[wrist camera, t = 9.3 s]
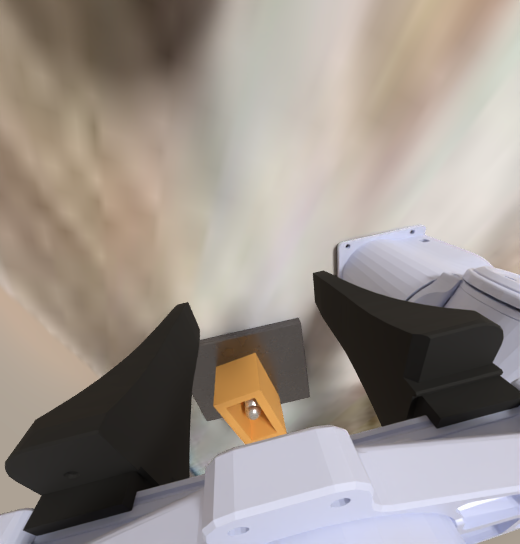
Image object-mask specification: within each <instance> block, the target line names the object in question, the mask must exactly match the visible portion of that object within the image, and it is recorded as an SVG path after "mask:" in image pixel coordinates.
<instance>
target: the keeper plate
mask: <svg viewBox="0 0 520 544" xmlns="http://www.w3.org/2000/svg"><path fill="white" fill-rule="evenodd" d="M253 353H256V355H257V357H258V358H259V360H260V362H261V364H262V366H263V368H264V369H265V371H266V373H267V375H268V377H269V379H270V380H271V382H272V384H273V386H274V388H275V390H276V391H277V393H278V395H279V399H280V403H281V404H282V403H287V402H291V401H295V400H299V399H304V398H308V397H310V395H309V386H308V378H307V370H306V362H305V354H304V346H303V337H302V329H301V323H300V320H299V318H296V319H291V320H287V321H283V322H278V323H274V324H269V325H265V326H261V327H256V328H252V329H247V330H243V331H239V332H234V333H230V334H226V335H221V336H217V337H212V338H208V339H204V340H200V342H199V351H198V357H197V363H196V369H195V375H194V381H193V388H192V394H193V396H194V398H195V400H196V402H197V403H198V405H199V407H200V409H201V411H202V413H203V414H204V416H205V418H206V420H207V421H211V420H215V419H219V418H223V417H222V416H221V415H220V413H219V412H218V411H217V410H216V409H215V407H214V406H213V403H214V390H215V376H216V367H217V366H220V365H223V364H226V363H228V362H231V361H234V360H237V359H239V358H242V357H245V356H248V355H250V354H253ZM245 413H246V416H247V417H248V418H249V419H250V420H256V419H258V418H259V416H260V414H261V407H260V405H259V404H258V402H257V401H256V399H255V398H253V399H250V400H247V401H245Z"/></svg>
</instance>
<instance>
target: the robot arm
mask: <svg viewBox="0 0 520 544" xmlns="http://www.w3.org/2000/svg"><path fill="white" fill-rule="evenodd" d="M411 230H412V232H411ZM425 230H426V227H425V226H424V225H417V226H412V227H407V228H403V229H398V230H394V231H389V232H385V233H380V234H376V235H371V236H367V237H362V238H358V239H353V240H348V241H344V242H341V243H339V244H338V246H337V264H338V277H336V276H334V275H332V274H330V273H328V272H325V271H320V272H315V273H313V281H314V295H315V303H316V305H317V307H318V309H319V311H320V313H321V315H322V317H323V319H324V320H325V322H326V323H327V325H328V326H329V328H330V329H331V331H332V332H333V334H334V335H335V337H336V338H337V340H338V341H339V343H340V344H341V346H342V347H343V349H344V350H345V352H346V354H347V356H348V358H349V359H350V361H351V363H352V365H353V367H354V369H355V371H356V373H357V375H358V377H359V379H360V381H361V383H362V385H363V387H364V389H365V391H366V393H367V395H368V397H369V399H370V402H371V404H372V406H373V408H374V410H375V412H376V414H377V417H378V419H379V421H380V423H381V426H382V427H379V428H376V429H372V430H368V431H364V432H360V433H357V434H353V435H349V434H348V432H347V430H345V429H343V428H340V427H337V426H333V425H324V426H315V427H310V428H307V429H303V430H299V431H295V432H291V433H288V434H284V435H280V436H276V437H272V438H269V439H265V440H261V441H257V442H253V443H249V444H246V445H242V446H238V447H234V448H232V449H229V450H227V451H224V452H222V453H220V454H218V455H217V456H216V457H215V458H214V459H213V460H212V461H211V462H210V463H209V464H208V465H207V466H206V469H205V474H202V475H199V476H195V477H191V478H189V448H190V415H191V398H192V388H193V381H194V375H195V369H196V363H197V357H198V351H199V342H200V329H199V326H198V324H197V322H196V319H195V317H194V315H193V312H192V310H191V308H190V305H189V303H188V302H187V303H183V304H178V305H177V306H176V307H175V308H174V309H173V310H172V311H171V312H170V313H169V314H168V315H167V317H166V318H165V319H164V320H163V321H162V322H161V323H160V324H159V326H158V327H157V328H156V329H155V330H154V331H153V332H152V333H151V334H150V335H149V336H148V337H147V338H146V339H145V340H144V341H143V342H142V343H141V344H140V345H139V346H138V347H137V348H136V349H135V350H134V351H133V352H132V353H131V354H130V355H129V356H127V357H126V358H125V359H124V360H123V361H122V362H120V363H119V364H118V365H117V366H115V367H114V368H113V369H111V370H110V371H109V372H108V373H106V374H105V375H104V376H103V377H101V378H100V379H99V380H97V381H96V382H94V383H93V384H91V385H90V386H89V387H87V388H86V389H84V390H83V391H81V392H80V393H78V394H77V395H75V396H74V397H72V398H71V399H69V400H68V401H66V402H64V403H63V404H61V405H59V406H58V407H56V408H55V409H53V410H51V411H50V412H48V413H46V414H45V415H43V416H41V417H40V418H38V419H37V420H35V421H34V423H33V424H32V426H31V427H30V428H29V430H28V431H27V433H26V434H25V435H24V437H23V438H22V439H21V441H20V442H19V444H18V445H17V446H16V448H15V449H14V451H13V452H12V453H11V455H10V456H9V457H8V459H7V460H6V462H5V470H6V472H7V474H8V475H9V477H11V478H12V479H13V480H15V481H16V482H18V483H20V484H22V485H23V486H25V487H27V488H29V489H31V490H33V491H34V492H36V493H38V494H40V495H42V496H41V498H40V500H39V501H38V504H37V505H36V507H35V509H33V508H24V509H18V510H15V511H11V512H7V513H3V514H0V544H477V543H480V542H482V541H485V540H488V539H491V538H493V537H497V536H499V535H502V534H505V533H508V532H510V531H514V530H516V529H519V528H520V275H519V274H515V273H512V272H509V271H506V270H502V269H498V268H494V267H493V266H492V265H491V264H490V263H489V262H488V261H487V260H485V259H484V258H483V257H481V256H479V255H477V254H475V253H473V252H470V251H467V250H465V249H462V248H459V247H457V246H454V245H451V244H449V243H446V242H443V241H441V240H438V239H435V238H433V237H430V236H427V235H425ZM410 232H411V233H410ZM347 244H349V245H348V247H346V245H347Z"/></svg>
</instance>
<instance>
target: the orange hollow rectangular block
mask: <svg viewBox="0 0 520 544" xmlns="http://www.w3.org/2000/svg"><path fill="white" fill-rule="evenodd" d="M253 398H255V399H256V401H257V402H258V404H259V405H260V407H261V414H260V416H259V418H258V419H256V420H250V419H249V418H248V417H247V416H246V413H245V401H247V400H250V399H253ZM213 406H214V407H215V409H216V410H217V411H218V412H219V413H220V415H221V416H222V417H223V418H224V419H225V421H226V422H227V423H228V424H229V425H230V427H231V428H232V429H233V430H234V431H235V433H236V434H237V435H238V436H239V437H240V439H241V440H242V441H243V442H244V443H245V445H246V444H249V443H253V442H257V441H261V440H265V439H269V438H272V437H276V436H280V435H284V434H287V432H286V428H285V423H284V418H283V413H282V408H281V403H280V399H279V395H278V393H277V391H276V390H275V388H274V386H273V384H272V382H271V380H270V379H269V377H268V375H267V373H266V371H265V369H264V368H263V366H262V364H261V362H260V360H259V358H258V357H257V355H256V353H253V354H250V355H248V356H245V357H242V358H239V359H237V360H234V361H231V362H228V363H226V364H223V365H220V366H217V367H216V376H215V390H214V403H213Z"/></svg>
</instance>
